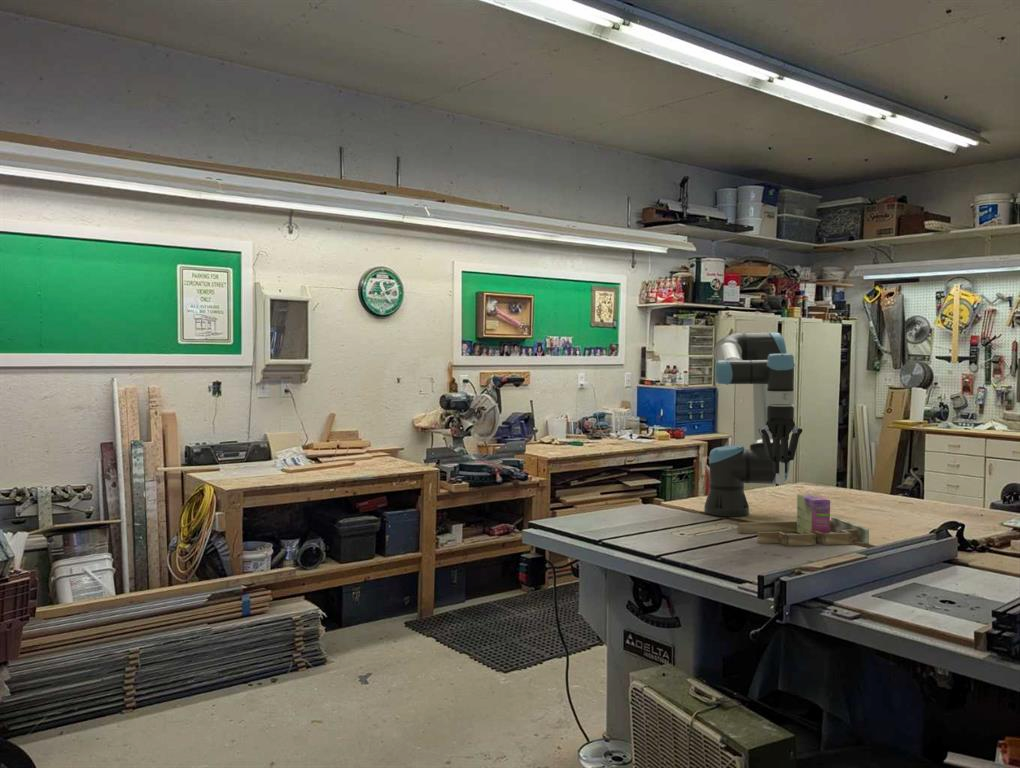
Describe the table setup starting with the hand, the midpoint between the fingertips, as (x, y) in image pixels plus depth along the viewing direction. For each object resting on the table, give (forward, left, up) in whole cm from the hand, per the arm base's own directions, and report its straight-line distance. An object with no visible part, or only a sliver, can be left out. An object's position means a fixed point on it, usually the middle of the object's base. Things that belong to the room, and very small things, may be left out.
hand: (780, 484), depth 229 cm
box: (+1, +10, -16) cm, 19 cm away
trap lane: (+3, +5, -16) cm, 17 cm away
